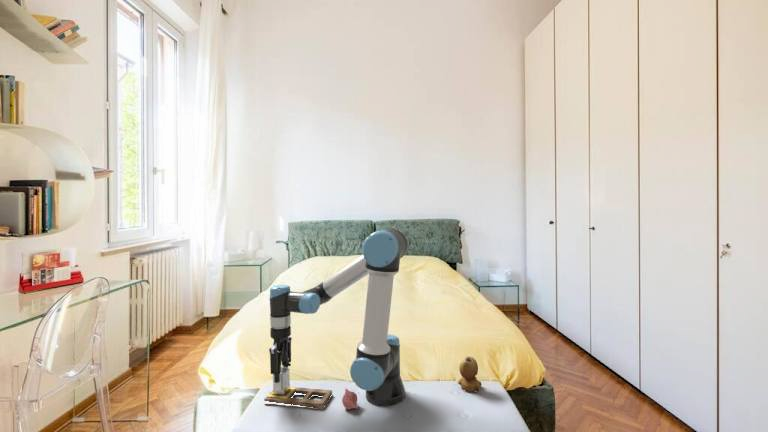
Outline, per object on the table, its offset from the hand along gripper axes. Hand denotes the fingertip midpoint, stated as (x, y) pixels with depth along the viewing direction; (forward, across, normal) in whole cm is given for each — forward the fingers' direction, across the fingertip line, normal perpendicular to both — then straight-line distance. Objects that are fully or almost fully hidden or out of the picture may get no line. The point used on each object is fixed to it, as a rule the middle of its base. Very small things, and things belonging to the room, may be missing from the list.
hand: (281, 386), depth 135 cm
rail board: (+4, 0, +7) cm, 8 cm away
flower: (+5, +2, +28) cm, 29 cm away
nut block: (+3, 0, 0) cm, 3 cm away
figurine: (+4, -18, +71) cm, 73 cm away
